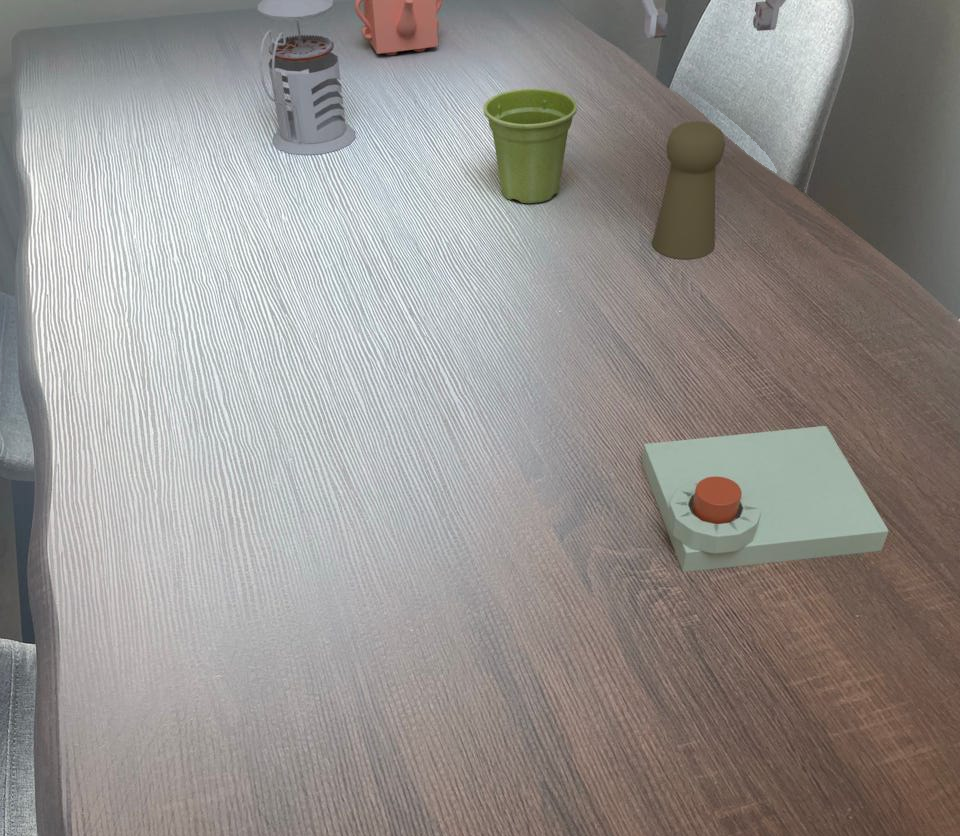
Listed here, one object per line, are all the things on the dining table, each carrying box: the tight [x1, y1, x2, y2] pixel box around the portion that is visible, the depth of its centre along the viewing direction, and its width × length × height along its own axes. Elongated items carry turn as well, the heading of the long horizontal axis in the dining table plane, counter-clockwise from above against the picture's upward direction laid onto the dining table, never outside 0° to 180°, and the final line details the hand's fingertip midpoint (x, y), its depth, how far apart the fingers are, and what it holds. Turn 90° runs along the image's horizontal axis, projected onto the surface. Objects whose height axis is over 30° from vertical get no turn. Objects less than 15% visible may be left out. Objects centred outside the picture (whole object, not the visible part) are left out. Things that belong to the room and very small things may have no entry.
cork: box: [651, 121, 726, 260], centre depth 96 cm, size 6×6×11 cm
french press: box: [257, 0, 356, 156], centre depth 110 cm, size 10×12×25 cm
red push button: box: [692, 476, 742, 524], centre depth 68 cm, size 3×3×2 cm
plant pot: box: [482, 88, 578, 204], centre depth 106 cm, size 9×9×9 cm
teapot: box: [354, 0, 443, 56], centre depth 136 cm, size 12×15×8 cm
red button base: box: [641, 425, 890, 573], centre depth 72 cm, size 14×12×4 cm
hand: (709, 32), depth 86 cm, fingers open, 8 cm apart
